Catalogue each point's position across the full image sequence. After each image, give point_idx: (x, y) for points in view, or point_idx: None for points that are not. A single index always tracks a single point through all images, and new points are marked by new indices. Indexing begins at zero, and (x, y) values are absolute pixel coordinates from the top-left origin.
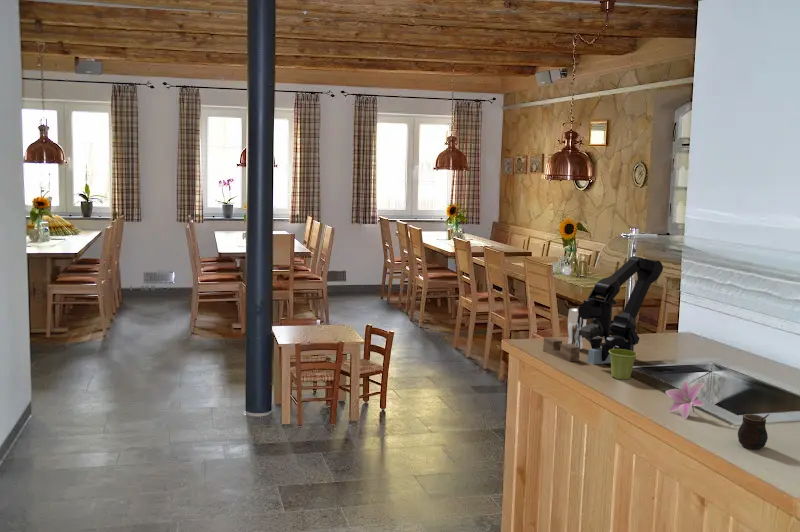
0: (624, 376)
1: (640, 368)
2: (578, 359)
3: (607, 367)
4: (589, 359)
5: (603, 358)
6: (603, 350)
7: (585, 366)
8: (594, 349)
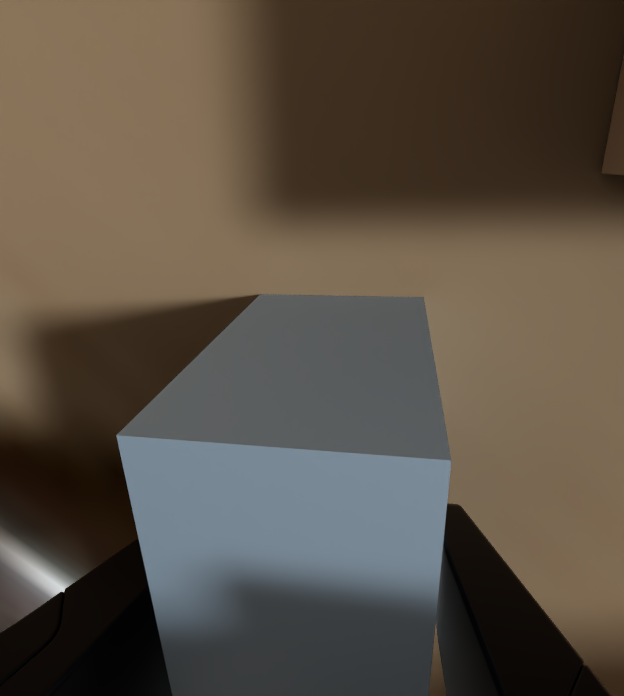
0: None
1: None
2: (619, 160)
3: (57, 390)
4: (372, 317)
5: None
6: (8, 651)
7: (151, 4)
8: (314, 585)
